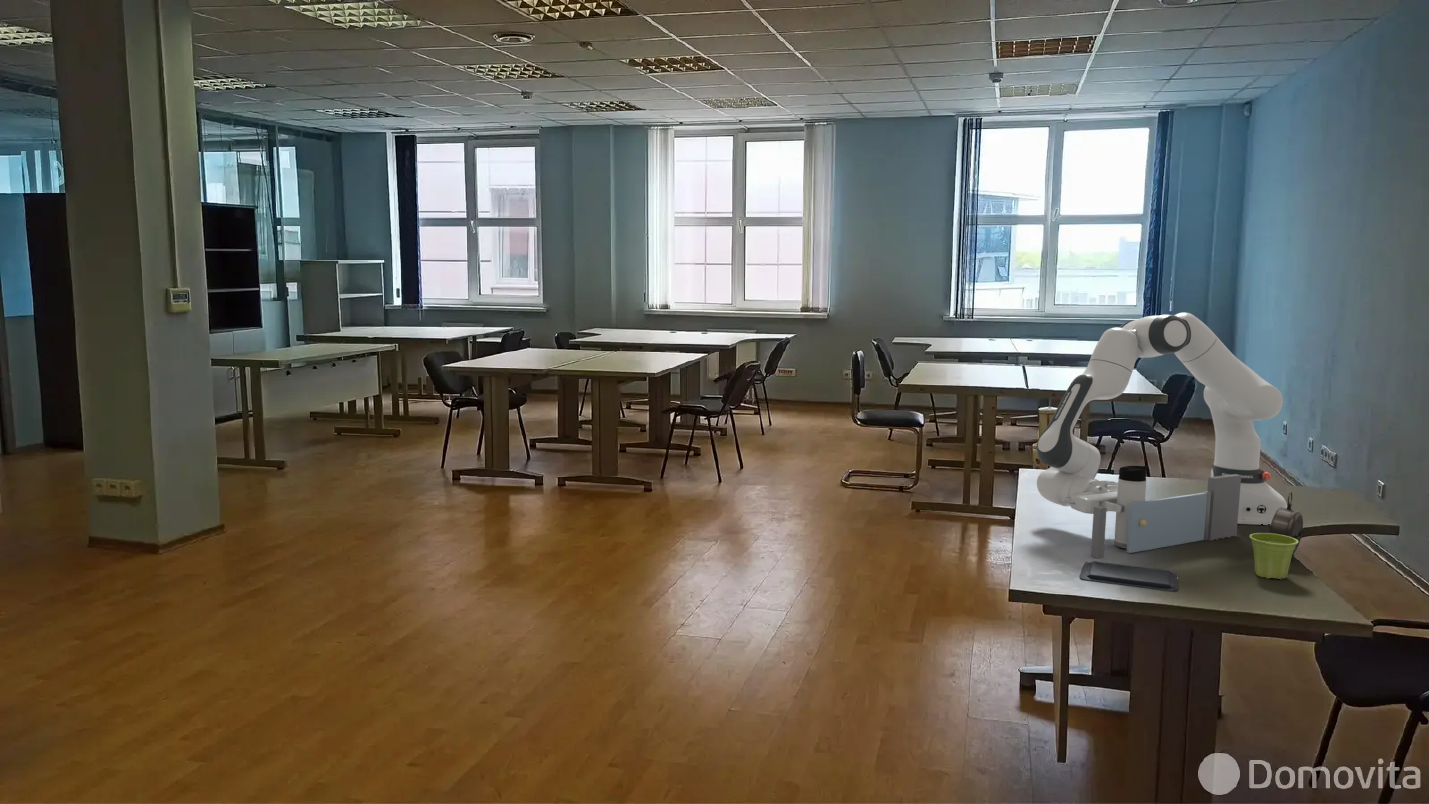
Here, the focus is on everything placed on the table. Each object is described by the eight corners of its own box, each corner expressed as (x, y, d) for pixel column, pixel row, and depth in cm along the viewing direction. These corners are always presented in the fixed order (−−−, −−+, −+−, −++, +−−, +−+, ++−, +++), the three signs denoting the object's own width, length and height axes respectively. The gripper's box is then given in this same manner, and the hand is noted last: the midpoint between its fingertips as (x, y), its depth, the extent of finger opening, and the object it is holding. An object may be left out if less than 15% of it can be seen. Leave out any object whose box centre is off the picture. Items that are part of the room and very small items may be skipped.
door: (1203, 538, 249) (1206, 490, 248) (1212, 541, 247) (1215, 492, 246) (1125, 552, 236) (1128, 502, 234) (1134, 555, 234) (1137, 504, 232)
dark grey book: (1078, 573, 215) (1085, 556, 228) (1077, 582, 215) (1085, 564, 228) (1178, 587, 206) (1180, 568, 219) (1178, 596, 206) (1179, 577, 220)
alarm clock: (1279, 551, 238) (1284, 486, 236) (1304, 556, 235) (1310, 490, 233) (1264, 560, 231) (1270, 493, 229) (1290, 565, 227) (1296, 497, 225)
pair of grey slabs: (1230, 534, 254) (1234, 474, 252) (1237, 536, 252) (1242, 475, 250) (1090, 556, 233) (1094, 490, 231) (1097, 558, 231) (1101, 491, 229)
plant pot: (1275, 584, 213) (1278, 545, 211) (1237, 572, 221) (1240, 535, 220) (1304, 579, 216) (1308, 541, 215) (1265, 567, 225) (1269, 531, 224)
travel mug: (1145, 550, 237) (1151, 468, 234) (1116, 548, 238) (1121, 467, 235) (1140, 543, 243) (1145, 464, 240) (1112, 541, 244) (1117, 462, 241)
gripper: (1060, 487, 246) (1103, 498, 233) (1119, 480, 254) (1163, 491, 242) (1058, 511, 246) (1101, 524, 234) (1117, 504, 255) (1162, 516, 243)
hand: (1133, 507), depth 238 cm, fingers closed on travel mug, 6 cm apart
